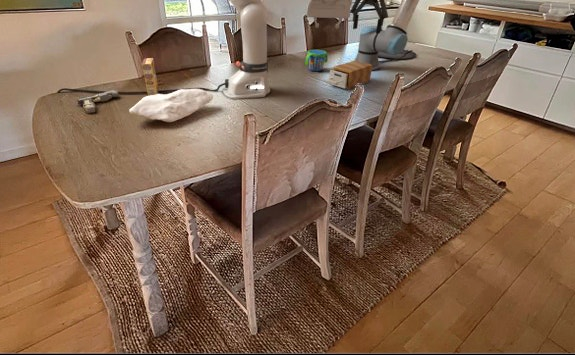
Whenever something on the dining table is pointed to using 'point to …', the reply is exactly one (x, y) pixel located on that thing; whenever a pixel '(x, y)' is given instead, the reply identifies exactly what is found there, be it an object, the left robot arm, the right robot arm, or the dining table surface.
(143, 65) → the candy box
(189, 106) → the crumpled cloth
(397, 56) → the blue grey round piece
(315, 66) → the snack cup
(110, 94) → the handgun
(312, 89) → the dining table surface
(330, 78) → the drawer
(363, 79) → the cabinet
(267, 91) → the left robot arm
